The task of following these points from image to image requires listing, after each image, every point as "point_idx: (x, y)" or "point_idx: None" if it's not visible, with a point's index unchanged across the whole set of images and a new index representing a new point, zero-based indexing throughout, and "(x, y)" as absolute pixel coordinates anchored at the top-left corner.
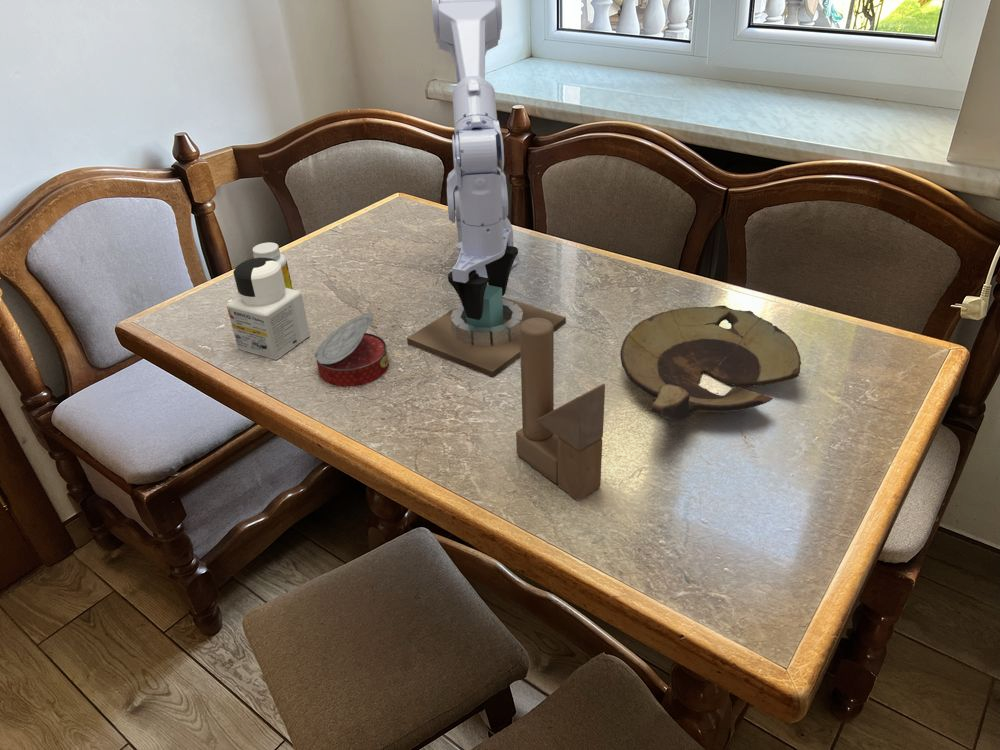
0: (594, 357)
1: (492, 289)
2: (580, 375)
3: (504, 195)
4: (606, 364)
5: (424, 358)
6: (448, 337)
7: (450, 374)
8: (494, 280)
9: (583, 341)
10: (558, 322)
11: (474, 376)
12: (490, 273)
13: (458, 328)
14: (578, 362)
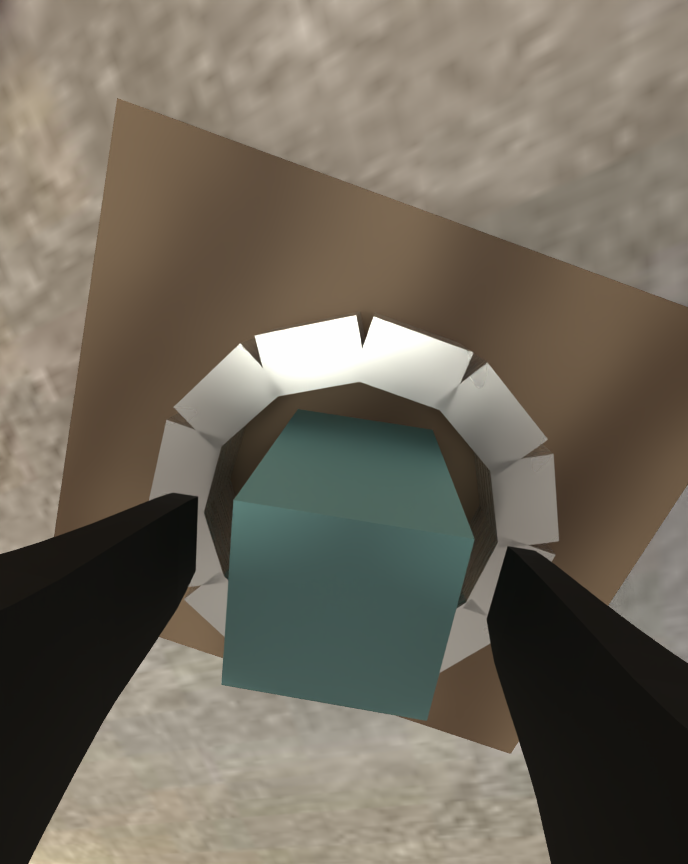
0: (299, 818)
1: (379, 671)
2: (191, 796)
3: None
4: (273, 845)
5: (62, 271)
6: (206, 340)
7: (11, 431)
8: (542, 651)
9: (386, 786)
10: (462, 737)
11: (43, 519)
12: (580, 671)
13: (167, 423)
14: (257, 786)
